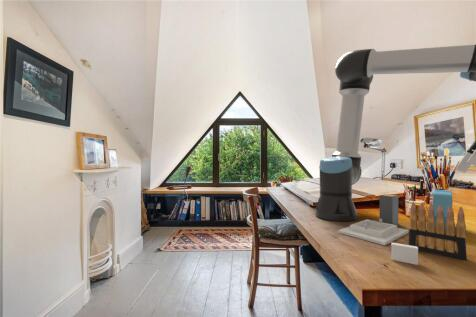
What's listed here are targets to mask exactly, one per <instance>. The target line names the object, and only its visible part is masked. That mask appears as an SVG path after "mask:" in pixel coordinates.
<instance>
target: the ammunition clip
mask: <svg viewBox="0 0 476 317" xmlns="http://www.w3.org/2000/svg"><path fill="white" fill-rule="evenodd" d="M457 210H458V211H457V218H456V222H455V214H454V209H453V205H452V206H449V208H448V212H447V221H446V232H445V222H444V212H443V208H442V206H441V205H439V207H438V211H437V220H436V231H435V218H434V209H433V203H430V204H429V206H428V208H427V218H426V209H425V204H424V203H423V202H421V203H420V205H419V208H418V217H417V207H416V203H415V202H414V201H412V203H411V205H410V211H409V212H410V214H409V222H408V223H409V224H408V226H409V227H408V228H409V229H408V230H409V233H408V245H410V246H416V247H418V252H422V251H423V252H422V253H426V252H427V254H432V255H436V256H441V257H445V258H450V259H455V260H460V261H465V262H467V260H468V258H467V226H466V219H465V211H464V208H463V207H462V206H460V207H459V208H458V209H457Z"/></svg>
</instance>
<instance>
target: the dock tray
mask: <svg viewBox="0 0 476 317" xmlns="http://www.w3.org/2000/svg"><path fill="white" fill-rule="evenodd" d="M338 233H339V234H341V235H346V236H349V237H353V238H356V239H359V240H364V241H367V242H372V243H374V244H378V245H382V246H387V245H388V244H390V243H393V242H394V241H396V240H398V239H400V238H402V237H403V236H405V235H407V234H409V229H406V228H405V229H404V228H401V227H398V225H392V224H387V223H383V222H382V219H381V218H380V217H379V218H378V221H377V220H372V219H367V218H366V219H364V220H361V221H358V222H355V223H352V224H349V226H347V227H343V228H341V229H339V230H338Z"/></svg>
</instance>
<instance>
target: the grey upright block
mask: <svg viewBox="0 0 476 317" xmlns="http://www.w3.org/2000/svg"><path fill="white" fill-rule="evenodd" d="M379 218H381V219H382V222H383V223H387V224H392V225H397V226H398V225H399V195H398V194H389V193H384V194H380V195H379Z"/></svg>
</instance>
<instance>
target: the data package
mask: <svg viewBox="0 0 476 317" xmlns="http://www.w3.org/2000/svg"><path fill="white" fill-rule="evenodd" d="M432 205H433V209H434V218H435V232H436V220H437V211H438V207H439V205H441V206H442V208H443V212H444V222H445V233H446V221H447V212H448V208H449V206H452V207H453V191H452V190H447V189H446V190H445V189H444V190H443V189H434V190H433V192H432Z"/></svg>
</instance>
